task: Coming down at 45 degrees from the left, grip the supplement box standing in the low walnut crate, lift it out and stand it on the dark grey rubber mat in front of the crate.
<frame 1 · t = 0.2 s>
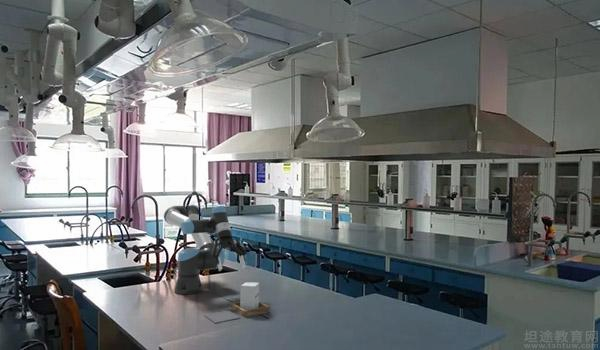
hand: (232, 268, 214), 16 cm above the counter, tool tilted 35°, fingers open, 13 cm apart
supplement box: (249, 310, 196), resting in crate
mat: (222, 317, 186), on the counter
crate: (249, 310, 196), on the counter
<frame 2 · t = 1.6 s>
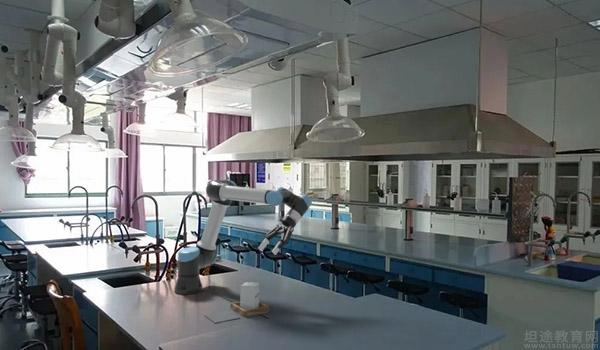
hand: (266, 251, 207), 26 cm above the counter, tool tilted 45°, fingers open, 13 cm apart
nothing on the counter moved.
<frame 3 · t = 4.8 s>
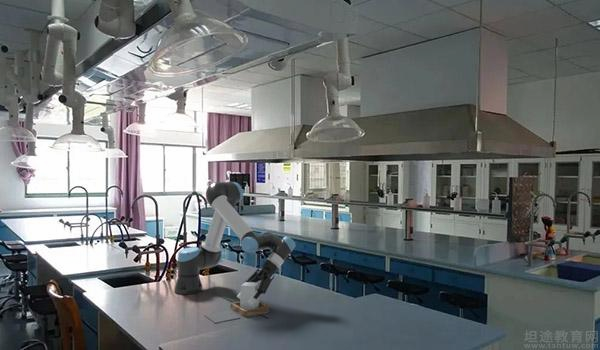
hand: (244, 300, 195), 5 cm above the counter, tool tilted 45°, fingers closed on supplement box, 10 cm apart
supplement box: (249, 310, 196), resting in crate, touching gripper
when the fingers open (6 cm above the counter, at t = 10.5 s): supplement box stays where it is, resting on mat.
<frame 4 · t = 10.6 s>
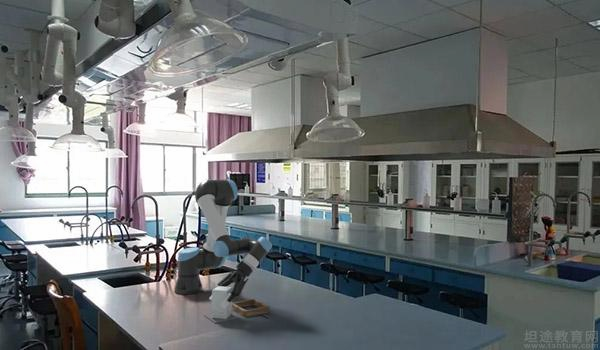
hand: (216, 303, 185), 6 cm above the counter, tool tilted 45°, fingers open, 12 cm apart
supplement box: (222, 316, 187), resting on mat
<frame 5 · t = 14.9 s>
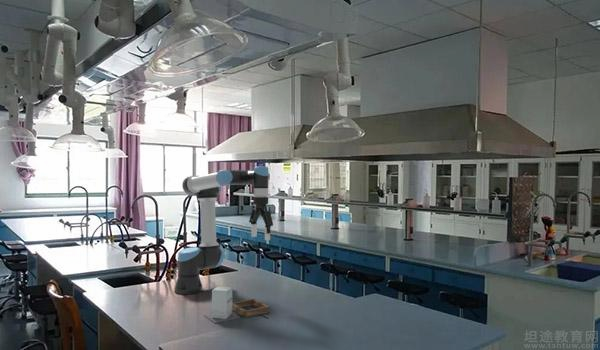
hand: (260, 238, 209), 33 cm above the counter, tool pointing down, fingers open, 13 cm apart
nothing on the counter moved.
at the end: supplement box inside the target area on the mat (0.2 cm from its centre), point 0.2 cm above the mat's base; supplement box tilted 0°; the gripper is holding nothing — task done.
